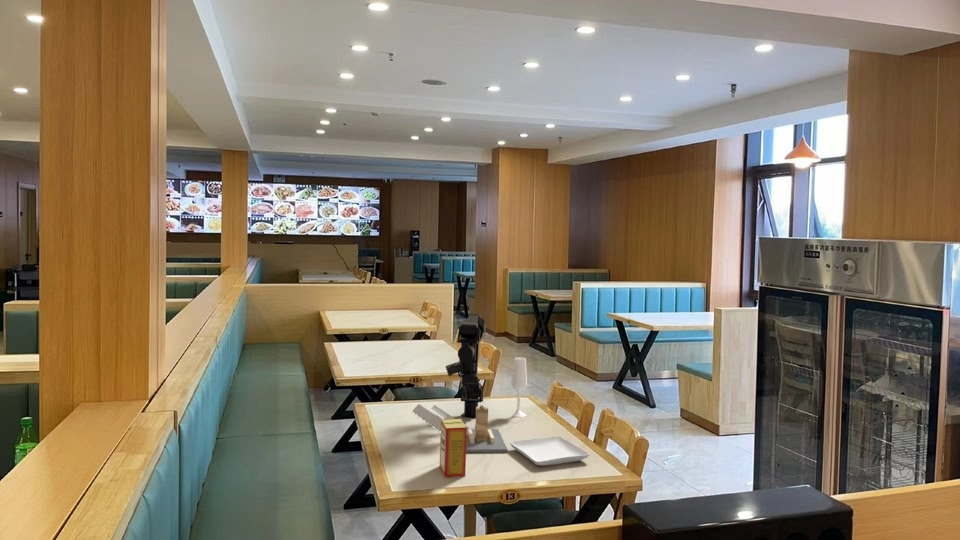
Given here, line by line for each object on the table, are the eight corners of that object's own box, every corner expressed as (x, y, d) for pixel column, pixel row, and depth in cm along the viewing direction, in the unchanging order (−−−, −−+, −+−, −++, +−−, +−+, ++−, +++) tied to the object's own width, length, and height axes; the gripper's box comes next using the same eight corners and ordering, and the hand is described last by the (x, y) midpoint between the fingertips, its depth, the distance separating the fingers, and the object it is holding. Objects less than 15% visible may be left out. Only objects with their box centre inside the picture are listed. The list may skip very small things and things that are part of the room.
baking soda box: (465, 476, 203) (466, 426, 202) (444, 477, 202) (446, 427, 200) (459, 465, 212) (460, 417, 211) (439, 466, 211) (441, 418, 210)
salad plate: (507, 450, 229) (507, 440, 229) (559, 443, 238) (559, 434, 237) (536, 471, 210) (536, 461, 210) (591, 464, 218) (591, 454, 218)
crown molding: (469, 432, 249) (470, 422, 248) (441, 436, 243) (441, 426, 243) (436, 410, 276) (437, 401, 276) (410, 413, 271) (410, 404, 270)
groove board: (456, 432, 245) (456, 424, 245) (497, 432, 247) (498, 424, 247) (461, 453, 224) (462, 444, 223) (507, 452, 226) (507, 443, 225)
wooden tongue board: (475, 437, 237) (476, 405, 236) (485, 437, 237) (486, 405, 236) (476, 440, 233) (477, 408, 232) (487, 440, 234) (488, 408, 233)
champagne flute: (510, 411, 275) (513, 356, 273) (526, 413, 274) (528, 357, 272) (509, 416, 268) (511, 359, 267) (525, 417, 267) (527, 360, 266)
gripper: (445, 351, 256) (444, 389, 257) (449, 361, 238) (447, 402, 239) (473, 351, 257) (472, 390, 259) (479, 361, 239) (477, 402, 240)
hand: (466, 396), depth 249 cm, fingers open, 9 cm apart
